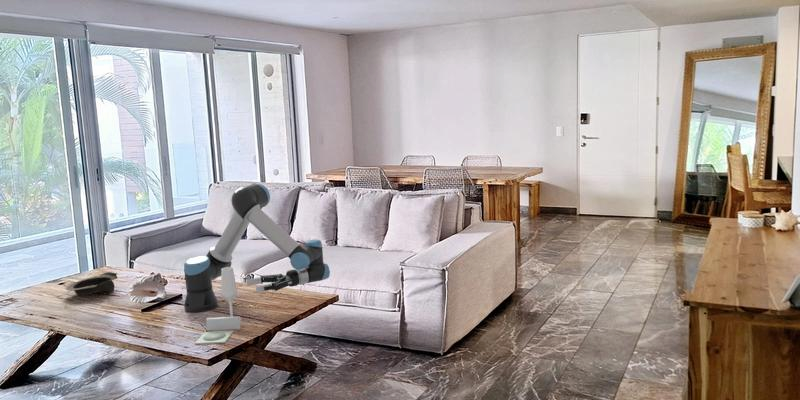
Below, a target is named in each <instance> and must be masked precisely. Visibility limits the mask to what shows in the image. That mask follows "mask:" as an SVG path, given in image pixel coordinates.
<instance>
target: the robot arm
mask: <svg viewBox="0 0 800 400" xmlns="http://www.w3.org/2000/svg"><path fill="white" fill-rule="evenodd" d="M230 200H231V205H232V207H233V208H232V209H233V210H234V213H233V214H232V217H231V218H230V220H229V222H228V223H227V225H226V227H225V229H224V230H223V232H222V233H221V236H220V237H219V240H218V241H217V242H216V245H215V246H212V247H210V249H209V250H208V252H207V254H206V255H199V256H195V257H190V258H188V259H187V260H186V261H185V262H184V264H183V268H184V269H183V273H184V279H185V287H186V289H185V290H186V296H185V301H184V303H183V304H184V306H183V307H184V311H186V312H189V313H200V312H206V311H210V310H213V309H215V308H216V307H218V306H219V303H218V302H219V301H218V298H217V296H216V294H215V292H214V289H213V282H212V281H214V280H217V278H220V277H221V269H222V268H225V267H232V260H233V255H232V254H233V253H234V250H235V249H236V247H237V246H238V244H239V242H240V240H241V239H242V237H243V235H244V233H245V232H246V230H247V229H248V226H249V225H250V224H251V225H252V226H253V227H255V229H257V230H258V231H259V232H260V233H261V234H262V235H263V236H265V238H266V239H267V240H268V241H270V242H271V243H272V244H273V245H274V246H276V248H278V249H279V250H280V251H281V252H282V253H283V254H284V255H285V256H286V257H288V259H290V260H289V261H290V262H289V263H290V265H291V268H293V269H289V270H287V271H286V273H285V274H282V273H277V274H266V275H265V274H264V275H260V276H259V277H256V278H250V279H246V287H250V286H255V292H256V293H257V294H259V293H263V292H267V291H268V292H269V291H271V290H272V291H275V292H277V291H279V290H282V289H285V288H287V287H289V288H290V287H292V288H293V287H297V286H299V285H300V286H301V285H302V286H305V284H310V283H315V282H320V281H324V280H325V281H326V280H328V279H329V277H330V275H331V271H330V270H331V269H330V267H329V265H328V264H327V263H325V262H324V254H323V252H324V251H323V243H322V242H323V241H321V239H309V240H307V241H306V242H305V247H303V246H302V245H300V243H298V242H297V241H296V240H295V239H294V238H293V237H292V236H291V235H289V233H288V232H286V231H285V230H284V229H283V228H282V227H281V226H280V225H279V224H278V223H277V222H276V221H274V220H273V219H272V218H271V217H270V216H269V215H268V214H266V212H265V211H263V208H265V207H266V206H267V205H268V204H269V203H270V202H271V201H270V200H271V194H270V192H269V189H268V188H267V187H266V186H265V185H264V184H261V183H252V184H249V185H246V186H242V187H239V188H237V189H236V190H234V192H233V193H232V196H231V199H230ZM264 283H267V284H264ZM259 284H260V285H259ZM256 285H258V286H256Z"/></svg>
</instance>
